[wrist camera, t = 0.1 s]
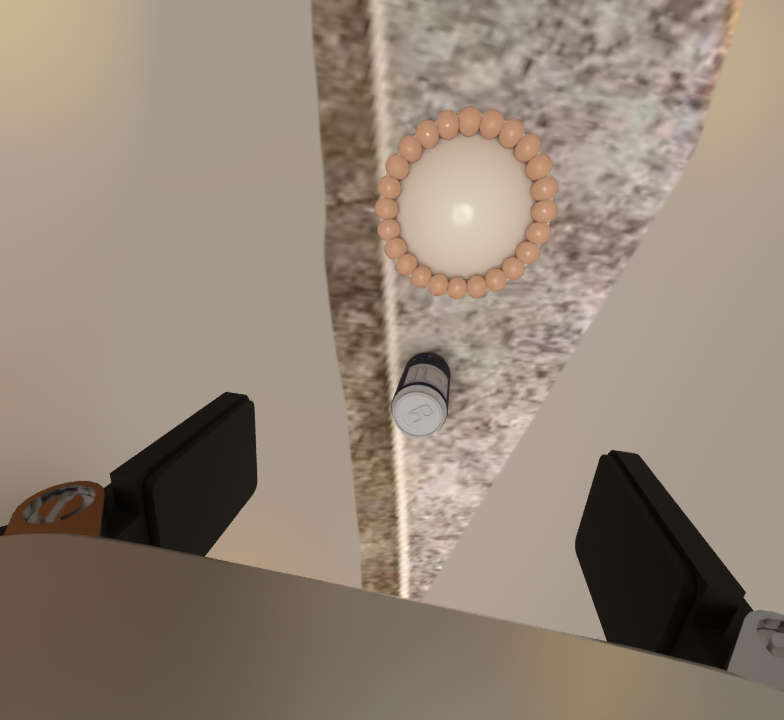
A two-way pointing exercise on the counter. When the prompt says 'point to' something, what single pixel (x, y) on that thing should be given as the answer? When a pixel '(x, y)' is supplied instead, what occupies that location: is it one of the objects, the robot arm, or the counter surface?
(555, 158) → the counter surface
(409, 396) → the beverage can
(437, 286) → the round dish
